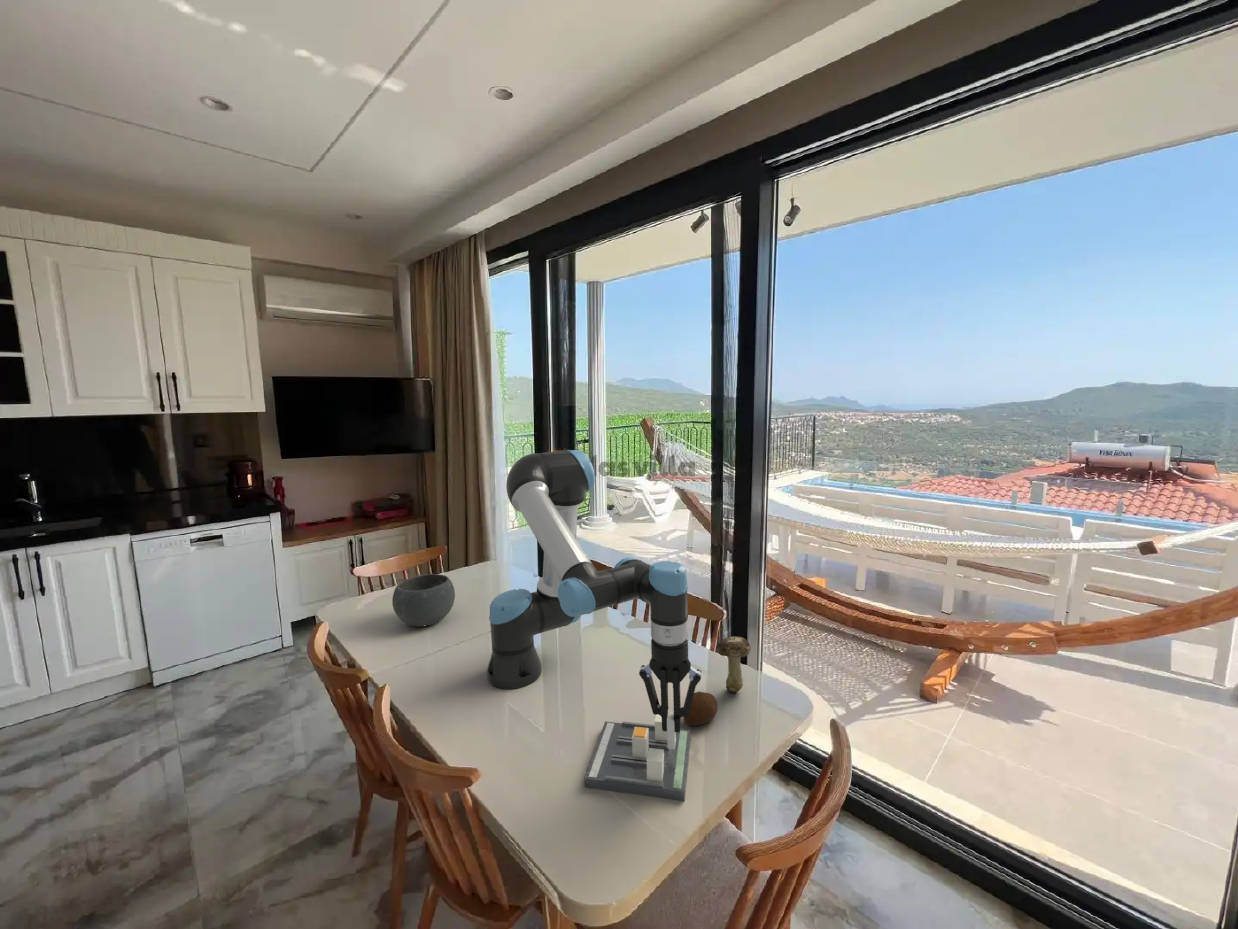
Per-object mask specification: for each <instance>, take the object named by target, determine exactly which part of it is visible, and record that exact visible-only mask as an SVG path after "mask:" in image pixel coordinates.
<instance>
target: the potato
mask: <svg viewBox="0 0 1238 929" xmlns="http://www.w3.org/2000/svg"><path fill="white" fill-rule="evenodd" d="M717 712H718V700H717V699H716V697H715V695H713V694H711V693H709V692H703V691H694V695H693V699H692V703H691V707H690V711H689V715H688V717H686V718H685V717H682V718H683V720H684V722H685V724H687V725H690V726H698V725H703V724H704V725H705V724H707V723H709V722H710V721H711V720H713V718H714V717H715V716H716V714H717Z"/></svg>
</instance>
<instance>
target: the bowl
mask: <svg viewBox="0 0 1238 929" xmlns="http://www.w3.org/2000/svg"><path fill="white" fill-rule="evenodd" d="M455 598H456V592H455V587H454V584H453V582H452V580H451V579H450V578H449V577H448V576H447V575H445V574H439V573H438V574H437V573H427V574H426V573H425V574H421V575H416V576H413V577H409V578H407V579H404V580H402V581H400V582H399V583H398V584H397V585H396V586H395V589H394V590H393V594H392V607H393V608H392V609H393V611H394V614H396V616H397V617H398V619H399V620H400V621H401V622H403V623H404V624H406V625H408V626H412V625H414V626H413V627H425V626H424V625H429V626H431V625H430V624H432V625H434V624H433V623H435V624H437V623H439V622H441V621H442V620H443V619H444V618H445V617H446V616H448V615H449V613H450V612H451V611H452V609H453V606H454V603H455ZM438 621H439V622H438ZM436 622H437V623H436Z"/></svg>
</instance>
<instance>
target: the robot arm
mask: <svg viewBox="0 0 1238 929" xmlns="http://www.w3.org/2000/svg"><path fill="white" fill-rule="evenodd" d="M595 480H596V478H595V470H594V467H593V464H592V461H591V459H590V458H589V456H588V455H587V454H586V453H585V452H584V451H582V450H580V449H579V450H578V449H574V450H573V449H572V450H571V449H565V450H559V451H558V450H557V451H556V450H555V451H550V452H549V451H548V452H541V453H540V452H539V453H538V452H537V453H536V452H534V453H530V454H526V455H524V456H522V457H520V458H519V459H517V461H516V462H515V463H514V464H512V466H511V468H510V470H509V473H508V475H507V478H506V485H505V486H506V494H507V497H508V500H509V502H510V504H511V507H512V508H513V509H514V510H515V511H517V512H519V513H521V514H522V516H523V518H524V519H525V521H526V523H527V525H528V527H529V528H530V530H531V532H532V534H533V535H534V536H535V539H536V540H537V542H538V543H539V546H540V547H541V549H542V550H543V563H542V565H543V566H542V569H543V570H542V577H541V578H539V580H537V584H536V591H533V592H531V591H530V590H528V589H526V588H518V589H516V588H514V589H510V590H507V591H504V592H502V593H500V594H498V595H496V596H495V597H494V598H493V599H492V601H491V603H490V605H489V617H488V619H489V622H490V623H489V624H490V638H491V655H490V658H489V662H488V666H487V669H486V671H487V672H486V677H487V681H489V682H490V683H491V684H492V685H491V684H490V683H489V682H488V683H489V684H490V685H491V686H493V687H495V688H497V687H498V689H503V690H512V689H519V688H522V687H523V688H524V687H526V686H529V685H530V684H532V683H534V682H535V681H537V680H538V679H539V678H540V676H541V675H542V663H541V659H540V657H539V653H538V652H537V649H536V647H535V641H534V640H535V639H534V638H535V637H534V636H536V635H538V634H542V633H546V632H549V631H552V630H555V629H559V628H563V627H567V626H569V625H571V624H573V623H575V622H577V621H579V620H580V618H581V617H582V616H584V615H589V614H592V613H593V612H596V611H599V610H603V609H606V608H609V607H611V606H613V607H614V606H616V605H620V604H623V603H627V602H629V601H634V600H640V601H642V602H643V603H646V604H649V609H650V611H649V612H650V636H651V640H650V642H651V643H650V646H651V647H650V649H651V658H650V660H649V663H647V664H646V665H644V664H642V665H641V666H640V669H639V672H638V675H639V677H640V678H641V679H642V680H643V683H644V686H645V690H646V693H647V697H648V701H649V704H650V707H651V711H652V714H653V715H655V716H656V715H657V714H658V715H660V716H661V717H662V730H663V731H667V748H668V749H675V743H676V732H678V733H679V732H680V730H681V727H682V725H681V724H682V723H681V721H682V720H681V718H683V717H685V718H686V717H688V715H689V711H690V707H691V703H692V699H693V695H694V693H695V692H696V687H697V685H698V684H699V683H700V681H701V680H702V670H701V669H700V668H697V669H695V668H694V667H693V666H692V663H691V662H690V660H689V639H688V636H689V629H688V628H689V619H688V588H689V586H688V578H687V569H686V567H685V566H684V565H683V564H682V563H679V562H677V561H671V560H662V561H657V562H654V563H653V564H650V563H647V562H645V561H642V560H641V559H637V558H634V557H625V558H622V559H620V560H619V561H618V562H617V563H616V564H615V565H614V567H611V568H608V569H607V568H606V569H603V570H597V569H596V567H595V566H594V564H593V563H592V562H591V560H590V558H589V556H588V555H587V553H586V552H585V550H584V549H583V548H582V546H581V544H580V543H579V541H578V540H577V537H576V536H577V526H578V512H579V506H581V505H582V504H583V503H584V502H585V495H586V493H587V492H590V491H592V489H593V488H594V487H595ZM652 672H653V674H654V675H655V676H656V678H657V679H658V680H659V687H660V702H659V698H658V693H657V690H656V687H655V683H654V680H653V675H652ZM687 675H688V678H689V684H688V688H687V692H686V696H685V699H684V704H683V707H682V706H681V705H682V704H681V703H682V702H681V682H682V681H683V680H684V679H685V678H686V676H687ZM669 683H670V684H672V691H673V692H672V693H673V694H672V695H673V696H672V697H673V698H672V699H673V701H672V702H673V711H669V709H670V708H669V707H670V706H669Z"/></svg>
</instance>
